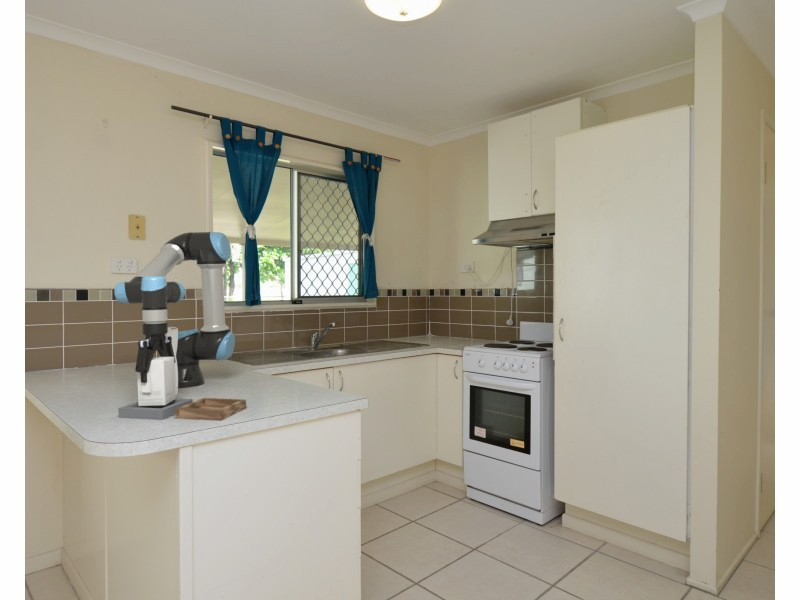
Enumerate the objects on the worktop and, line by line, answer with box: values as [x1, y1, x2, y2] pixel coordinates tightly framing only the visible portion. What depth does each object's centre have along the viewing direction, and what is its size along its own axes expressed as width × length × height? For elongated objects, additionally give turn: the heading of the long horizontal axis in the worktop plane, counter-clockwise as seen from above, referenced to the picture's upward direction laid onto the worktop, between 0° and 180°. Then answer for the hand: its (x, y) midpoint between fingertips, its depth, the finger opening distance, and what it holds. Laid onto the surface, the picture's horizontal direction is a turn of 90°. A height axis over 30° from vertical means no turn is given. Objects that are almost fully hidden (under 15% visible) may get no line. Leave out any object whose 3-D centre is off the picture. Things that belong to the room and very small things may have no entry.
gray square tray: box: [117, 397, 194, 420], centre depth 170 cm, size 16×16×3 cm
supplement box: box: [136, 356, 176, 406], centre depth 170 cm, size 9×9×15 cm
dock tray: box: [174, 397, 247, 421], centre depth 168 cm, size 16×16×3 cm
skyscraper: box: [158, 326, 179, 397], centre depth 195 cm, size 8×8×28 cm
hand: (157, 388), depth 170 cm, fingers closed on supplement box, 10 cm apart
